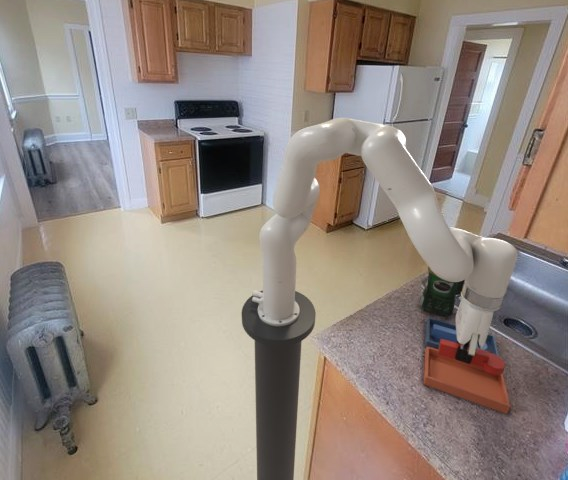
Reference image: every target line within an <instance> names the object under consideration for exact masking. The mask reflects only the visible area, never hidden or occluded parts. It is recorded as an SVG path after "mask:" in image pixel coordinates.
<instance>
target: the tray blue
mask: <svg viewBox="0 0 568 480" xmlns="http://www.w3.org/2000/svg"><path fill="white" fill-rule="evenodd" d="M434 324H436V325H439V326H443V327H446V328H450V329H453V330H456V323H451V322H449V321H444V320H441V319H438V318H434V317H430V316H427V317H426V322H425V339H424V340H425V341H424V344H425V345H424V348H425V349H426V347H427V346H428V347H431V348H434V349H438V348H439V344H440V340H438V339H435V338H432V337H431V332H432V329H433V325H434ZM485 343H486V344H487V349H486V351H488V352H489V353H492V354H495V355H497V356H499V357H500V353H499V350H498V349H499V347H498V343H497V340H496V336H495V335H494V334H491V333H488V335H487V339H486V341H485Z"/></svg>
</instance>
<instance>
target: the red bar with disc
mask: <svg viewBox="0 0 568 480" xmlns="http://www.w3.org/2000/svg"><path fill="white" fill-rule="evenodd" d="M458 345H460V344H459V343H455V342H451V341H448V340H444V339H440V344H439V348H438V354H439V355H442V356H445V357H449V358H452V359H455V355H456V352H457V349H458ZM470 364H473V365H477V366H480V367H483V369H484V370H486V371H487V372H489V373H491V374H493V375H501V374H502V373H503V374H504V371H505V368H506V363H505V360H504V359H503V358H501V357H500V355H499V356H497V355H495V354H492V353H489V352H488V351H485V350H481V349H478V348H476V351H475V356H473V357H472V360H471V363H470Z"/></svg>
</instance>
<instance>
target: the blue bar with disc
mask: <svg viewBox="0 0 568 480" xmlns="http://www.w3.org/2000/svg"><path fill="white" fill-rule="evenodd" d="M431 337H432V338H435V339H438V340H440V339H444V340H448V341H451V342H455V343H456V342H457V334H456V330H453V329H450V328H446V327H443V326H439V325H436V324H434V325H433V329H432V332H431ZM476 348H478V343H477V346H476ZM478 349H479V348H478ZM486 349H487V344H486V343H485V344H484V346H483V348H482V349H481V350H485V351H486Z"/></svg>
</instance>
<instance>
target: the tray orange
mask: <svg viewBox="0 0 568 480" xmlns="http://www.w3.org/2000/svg"><path fill="white" fill-rule="evenodd" d="M423 364H424V365H423V385H424V386H427V387H430V388H433V389H436V390H438V391H442V392H444V393H447V394H450V395H452V396H455V397H458V398H461V399H463V400H466V401H469V402H472V403H475V404H478V405H480V406H484V407H486V408H489V409H492V410H495V411H498V412H499V413H503V414H506V415H507V414H508V413H509V411H510V408H511V403H510V399H509V395H508V391H507V385H506V380H505V376H504V372H503V373H502V374H501V375H493V374H491V373H489V372H487V371H486V370H484V369H483V367H480V366H477V365H473V364H468V363H464V362H461V361H458V360H456V359H452V358H449V357H445V356H442V355H439V354H438V349H434V348H431V347H428V346H427V347H426V348H425V352H424V363H423Z"/></svg>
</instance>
